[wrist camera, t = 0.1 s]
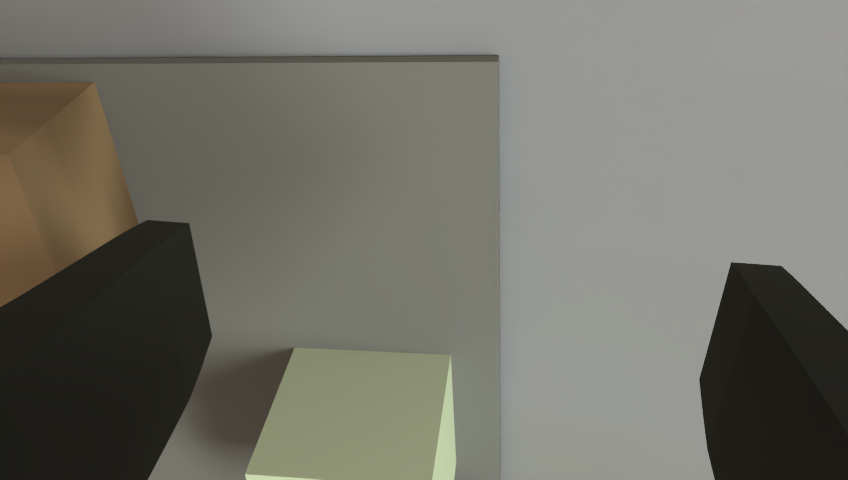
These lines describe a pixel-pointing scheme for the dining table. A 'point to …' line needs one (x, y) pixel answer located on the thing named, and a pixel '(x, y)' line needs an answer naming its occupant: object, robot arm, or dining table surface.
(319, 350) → the sage cube
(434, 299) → the building mat
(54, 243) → the walnut base block
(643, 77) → the dining table surface
